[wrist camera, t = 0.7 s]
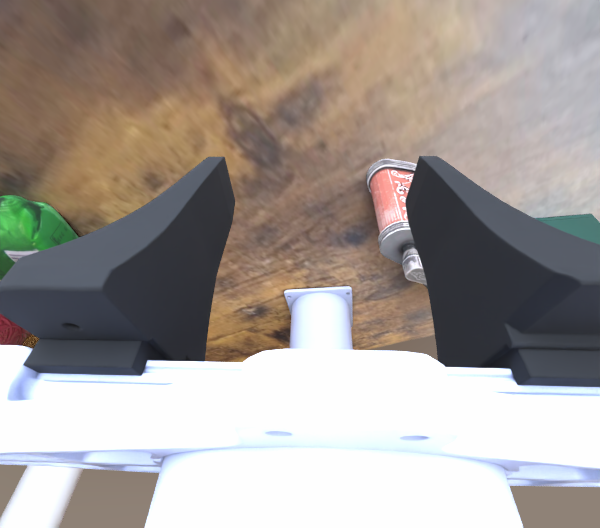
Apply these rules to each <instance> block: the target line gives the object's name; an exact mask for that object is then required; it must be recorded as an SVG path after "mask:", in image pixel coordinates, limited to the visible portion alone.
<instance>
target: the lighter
mask: <svg viewBox="0 0 600 528" xmlns="http://www.w3.org/2000/svg"><path fill="white" fill-rule="evenodd" d="M416 166H417V165H416V164H413V163H410V162H404V161H398V160H392V159H383V160H380V161H377V162H376V163H375V164H373V165H372V166H371V167H370V169H369V170H368V172H367V175H366V181H367V186H368V189H369V191H370V192H371V193H372V198H373V203H374V208H375V213H376V218H377V223H378V228H379V233H380V235H379V239H378V243H379V248H380V252H381V254H382V255H383V256H385V257H387V258H389V259H391V260H393V261H395V262H397V263H399V264H401V265H402V266H403V270H404V274H405V278H406V279H408V280H410V281H414V282H418V283H422V284H423V285H424V286H426V287H427V282H426V278H425V274H424V270H423V267H422V264H421V261H420V258H419V255H418V252H417V249H416V246H415V243H414V240H413V236H412V233H411V230H410V227H409V224H408V218H407V212H406V205H405V200H406V197H407V194H408V191H409V188H410V185H411V182H412V178H413V175H414V172H415V169H416ZM427 289H428V288H427Z"/></svg>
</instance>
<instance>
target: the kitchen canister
mask: <svg viewBox="0 0 600 528" xmlns="http://www.w3.org/2000/svg"><path fill="white" fill-rule="evenodd" d="M30 335H31V333H30V332H28V331H27V330H25V329H23V328H22V327H20V326H19V325H17V324H15V323H14V322H12V321H10V320H9V319H7V318H6V317H4V316H3V315H2V314H0V345H18V346H22V344H23V343H24V341H25V340H26V339H27V338H28V337H29V336H30Z"/></svg>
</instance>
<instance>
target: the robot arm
mask: <svg viewBox="0 0 600 528" xmlns="http://www.w3.org/2000/svg"><path fill="white" fill-rule="evenodd" d="M405 205H406V212H407V218H408V224H409V227H410V230H411V233H412V236H413V240H414V243H415V246H416V249H417V252H418V255H419V258H420V261H421V264H422V267H423V270H424V274H425V278H426V282H427V288H428V293H429V298H430V304H431V310H432V316H433V322H434V330H435V338H436V345H437V355H438V361H436V360H434V359H433V358H431V357H430V356H428V355H426V354H420V353H413V352H406V351H372V350H371V351H370V350H353V345H352V334H351V327H352V326H353V318H352V288H351V287H349V286H343V287H326V288H309V289H292V290H285V291H284V295H285V298H286V301H287V304H288V307H289V310H290V313H291V333H290V349H278V350H267V351H262V352H260V353H258V354H256V355H253V356H251V357H249V358H248V359H246V360H245V361H244V363H239V362H205V352H206V342H207V334H208V326H209V318H210V312H211V305H212V298H213V292H214V287H215V281H216V276H217V272H218V268H219V264H220V261H221V258H222V254H223V251H224V248H225V245H226V241H227V238H228V235H229V231H230V228H231V224H232V220H233V213H234V206H235V199H234V195H233V190H232V186H231V182H230V178H229V174H228V170H227V165H226V161H225V157H208V158H206V159H205V160H203V161H202V162H201V163H200V164H198V165H197V166H196V167H195V168H194V169H192V170H191V171H190V172H189V173H188V174H186V175H185V176H184V177H183V178H181V179H180V180H179V181H178V182H177V183H175V184H174V185H173V186H171V187H170V188H169V189H167V190H166V191H165V192H163V193H162V194H161V195H159V196H158V197H157V198H155V199H154V200H152V201H151V202H149V203H148V204H146V205H144V206H143V207H141V208H139V209H138V210H136V211H134V212H133V213H131V214H129V215H127V216H125V217H123V218H121V219H119V220H117V221H115V222H113V223H111V224H109V225H107V226H105V227H103V228H101V229H99V230H96V231H94V232H92V233H89V234H87V235H85V236H82V237H79V238H77V239H74V240H72V241H69V242H66V243H64V244H61V245H58V246H55V247H52V248H48V249H45V250H42V251H39V252H36V253H33V254H30V255H27V256H23V257H20V258H19V259H18V260H17V262H16V263H15V264H14V265H13V266H12V268H11V269H10V270H9V271H8V272H7V274H6V275H5V276H4V277H3V279H2V280H1V281H0V314H2V315H3V316H4V317H6V318H7V319H9V320H10V321H12V322H14V323H15V324H17V325H19V326H20V327H22V328H23V329H25V330H27V331H28V332H30V333H31V334H33V335H35V336H36V337H38V338H40V339H39V341H38V342H37V344H36V345H35V347H34V348H33V349H32V348H29V347H25V346H18V345H0V464H6V465H30V466H50V467H69V468H87V469H103V470H120V471H136V472H152V473H160V474H159V478H158V481H157V485H156V489H155V492H154V496H153V499H152V503H151V507H150V511H149V514H148V518H147V521H146V525H145V528H523V525H522V522H521V519H520V516H519V514H518V511H517V507H516V505H515V502H514V499H513V496H512V493H511V490H510V487H509V486H510V485H511V486H576V487H600V245H599V244H596V243H593V242H591V241H588V240H585V239H582V238H579V237H577V236H574V235H572V234H569V233H566V232H564V231H562V230H559V229H557V228H555V227H552V226H550V225H548V224H545V223H543V222H541V221H539V220H537V219H534V218H532V217H530V216H528V215H526V214H525V213H523V212H521V211H519V210H517V209H515V208H513V207H511V206H510V205H508V204H506V203H504V202H503V201H501V200H500V199H498V198H496V197H495V196H493V195H492V194H490V193H489V192H487V191H486V190H484V189H483V188H481V187H480V186H478V185H477V184H475V183H474V182H473V181H471V180H470V179H468V178H467V177H466V176H464V175H463V174H462V173H460V172H459V171H458V170H456V169H455V168H454V167H452V166H451V165H449V164H448V163H447V162H445V161H444V160H442V159H441V158H439V157H437V156H419V160H418V163H417V166H416V169H415V172H414V175H413V178H412V182H411V185H410V188H409V191H408V194H407V197H406V200H405Z"/></svg>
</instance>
